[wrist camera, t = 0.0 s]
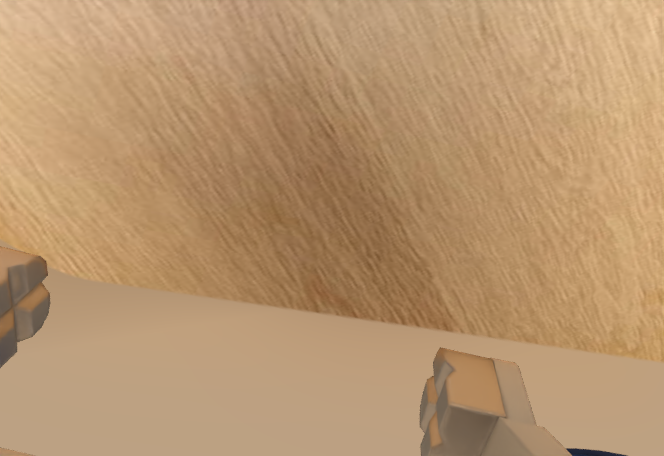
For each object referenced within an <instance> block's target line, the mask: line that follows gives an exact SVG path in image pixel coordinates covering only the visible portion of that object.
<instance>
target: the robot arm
mask: <svg viewBox="0 0 664 456" xmlns="http://www.w3.org/2000/svg"><path fill="white" fill-rule="evenodd" d="M47 276H48V271H47V264H46V261H45V260H44V259H43V258H42V257H41V256H37V255H33V254H29V253H25V252H21V251H17V250H13V249H9V248H5V247H1V246H0V368H1V367H2V366H3V365H4V364H5V363H6V362H7V361H8V360H9V359H10V358H11V357H12V356H13V355H14V354H15V353H16V352H17V342H20V341H23V340H25V339H28V338H30V337H33V335H35V333H36V332H37V331H38V330H39V329H40V328H41V327H42V325H43V323H44V321H45V320H46V317H47V316H48V313H49V307H50V294H49V292H48V290H47V289H46V288H45V286H44V285H43V284H42V281H43V280H44V279H45V278H46V277H47ZM433 368H434V376H432V377H431V378H429V379H427V382H426V385H425V388H424V391H423V395H422V401H421V405H420V427H421V429H422V430H423V432H424V433H425V435H424V438H423V440H422V443H421V456H572V455H571V454H570V453H569V452H568V451H567V450H566V449H565V448H564V447H563V446H562V445H561V444H560V443H559V442H558V441H557V440H556V439H555V438H554V437H553V436H552V435H551V434H550V433H549V432H548V431H547V430H546V429H545V428H544V427H540V426H537V425H536V422H535V418H534V415H533V412H532V408H531V405H530V402H529V399H528V395H527V392H526V389H525V385H524V382H523V379H522V376H521V372H520V369H519V366H518V365H517V364H516V363H514V362H509V361H504V360H499V359H494V358H485V357H480V356H476V355H471V354H467V353H463V352H458V351H454V350H449V349H445V348H440V349H439V350H438V352H437V354H436V357H435V359H434V362H433ZM0 456H35V455H30V454H26V453H21V452H17V451H14V450H9V449H5V448H1V447H0Z"/></svg>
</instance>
